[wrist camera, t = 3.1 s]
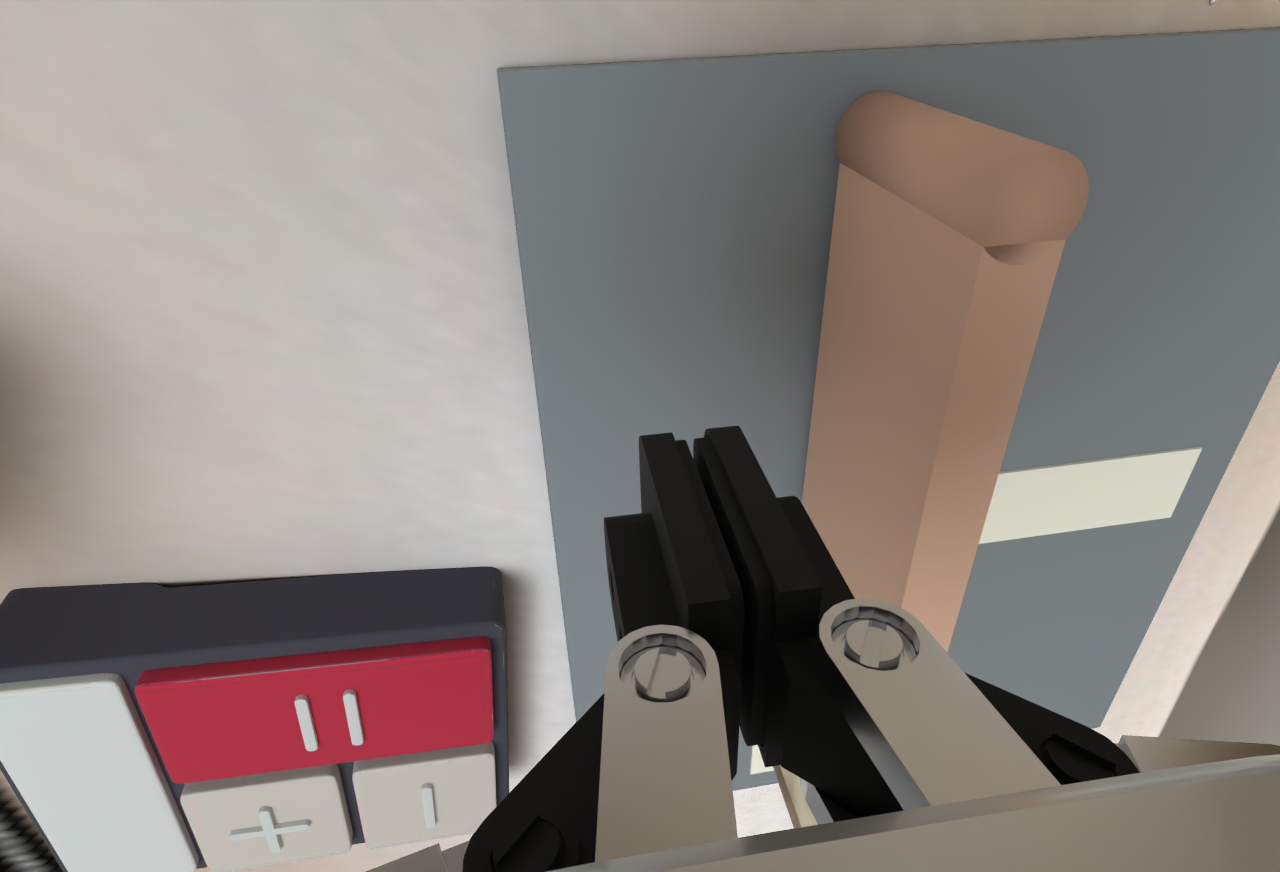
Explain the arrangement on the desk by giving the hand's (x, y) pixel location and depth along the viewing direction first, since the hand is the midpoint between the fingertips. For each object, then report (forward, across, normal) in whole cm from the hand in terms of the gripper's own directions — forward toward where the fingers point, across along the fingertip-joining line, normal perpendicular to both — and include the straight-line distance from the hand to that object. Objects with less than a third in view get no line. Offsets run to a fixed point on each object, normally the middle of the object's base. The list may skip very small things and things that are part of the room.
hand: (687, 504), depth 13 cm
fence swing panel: (+9, -6, +3) cm, 11 cm away
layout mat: (+10, -10, +9) cm, 17 cm away
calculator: (+10, +12, +14) cm, 21 cm away
